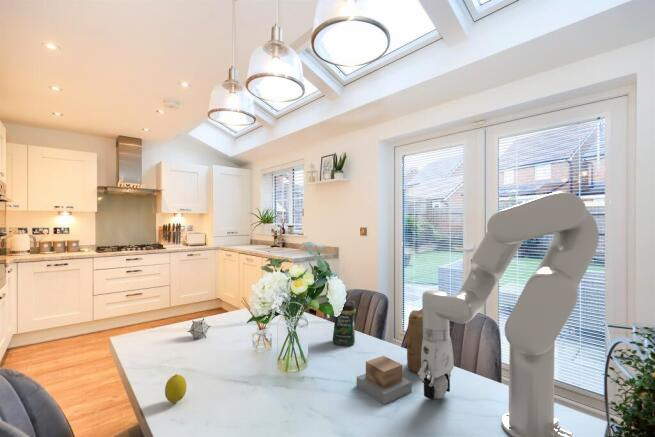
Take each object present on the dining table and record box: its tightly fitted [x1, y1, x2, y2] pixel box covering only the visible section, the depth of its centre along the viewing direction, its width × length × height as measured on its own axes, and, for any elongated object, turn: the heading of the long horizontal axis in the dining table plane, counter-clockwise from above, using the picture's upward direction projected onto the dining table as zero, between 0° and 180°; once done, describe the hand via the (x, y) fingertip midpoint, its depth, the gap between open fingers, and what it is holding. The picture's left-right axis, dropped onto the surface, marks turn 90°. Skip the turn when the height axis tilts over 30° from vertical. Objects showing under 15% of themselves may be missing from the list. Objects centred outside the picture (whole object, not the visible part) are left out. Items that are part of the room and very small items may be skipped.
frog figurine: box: [427, 375, 448, 400], centre depth 92 cm, size 6×7×7 cm
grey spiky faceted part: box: [187, 317, 212, 341], centre depth 137 cm, size 9×8×10 cm
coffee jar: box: [332, 299, 357, 347], centre depth 134 cm, size 10×8×19 cm
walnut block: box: [365, 355, 404, 389], centre depth 97 cm, size 8×8×5 cm
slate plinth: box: [356, 373, 413, 405], centre depth 97 cm, size 12×12×3 cm
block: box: [406, 309, 423, 374], centre depth 112 cm, size 11×8×20 cm
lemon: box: [164, 373, 187, 404], centre depth 88 cm, size 6×6×8 cm
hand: (437, 393), depth 92 cm, fingers closed on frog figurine, 6 cm apart
